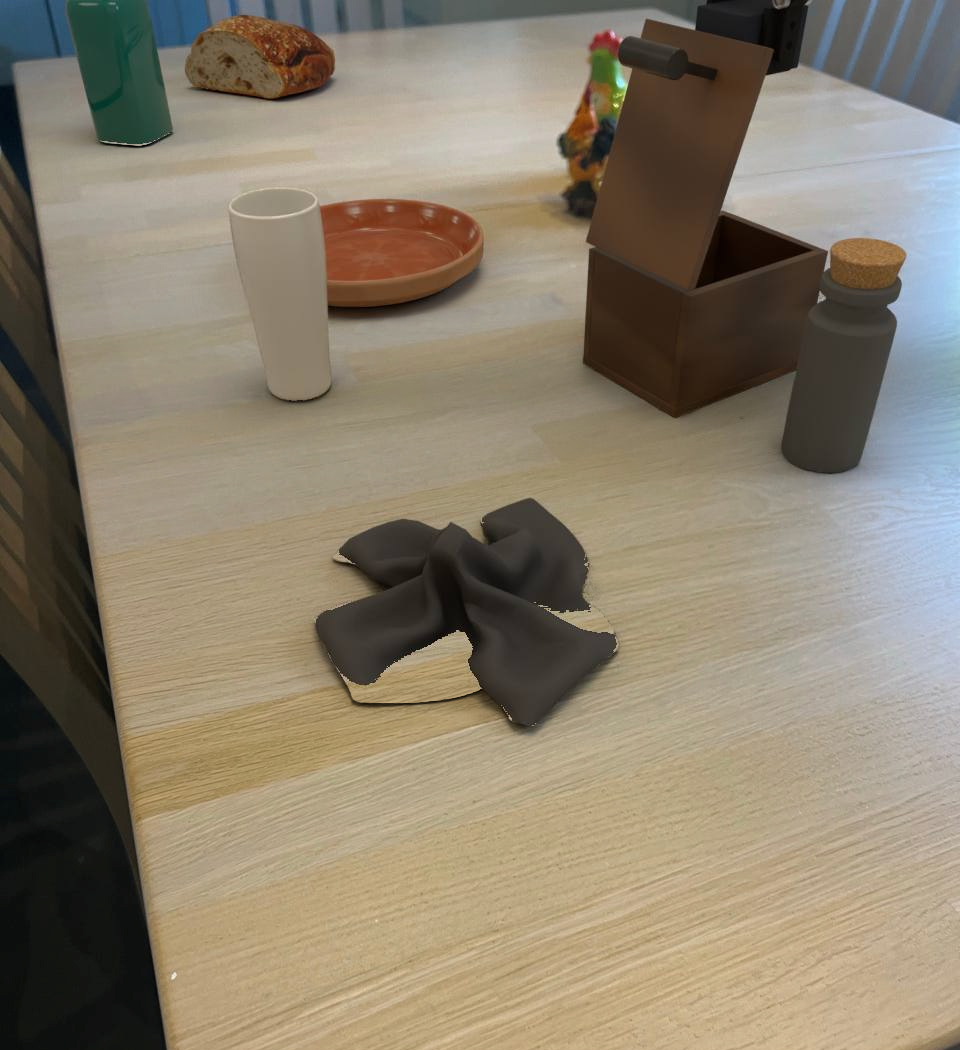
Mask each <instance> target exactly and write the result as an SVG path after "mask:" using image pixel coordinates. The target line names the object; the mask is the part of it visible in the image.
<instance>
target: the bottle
mask: <svg viewBox="0 0 960 1050" xmlns="http://www.w3.org/2000/svg"><path fill="white" fill-rule="evenodd" d="M906 260H907V252H906V251H905V250H904V248H902V247H900V246H899V245H897V244H894V243H893V242H889V241H886V240H882V239H877V238H868V237H854V238H845V239H841V240H839V241H835V242H834V243H833V244H832V245H831V246H830V249H829V268H827V269H825V270H824V272H823V274H822V276H821V281H820V286H819V289H820V293H821V294H822V295H823V297H825V299H823V300H821V301H819V302H817V304H816V305H814V306H813V307H812V308H811V309H810V311H809V313H808V317H807V321H806V326H805V330H804V335H803V340H802V344H801V349H800V354H799V358H798V363H797V368H796V370H795V373H794V378H793V383H792V389H791V393H790V398H789V402H788V406H787V407H788V408H787V413H786V418H785V422H784V428H783V432H782V438H781V445H780V449H781V450H780V451H781V453H782V455H783V457H784V458H785V459H786V460H787V461H789V463H791V464H794V465H795V466H797V467H799V468H801V469H804V470H808V471H811V472H815V473H816V472H817V473H824V474H833V473H843V472H846V471H848V470H851V469H854V468H855V467H856V466H858V464H859V463H860V461H861V460H862V457H863V453H864V450H865V447H866V444H867V440H868V436H869V432H870V430H871V429H870V428H871V425H872V421H873V418H874V415H875V411H876V406H877V403H878V399H879V396H880V392H881V388H882V386H883V385H882V384H883V381H884V378H885V373H886V369H887V367H888V366H887V365H888V361H889V358H890V354H891V350H892V347H893V344H894V339H895V335H896V331H897V326H898V319H897V316H896V315H895V314H894V312H893V311H892V310H891V309H890V308H888V306H889V305H891V304H893V303H895V302H896V301H897V300H898V299H899V297H900V294H901V290H902V287H903V282H902V279H901V277H900V276H899V273H900V271H901V269H902V268H903V265H904V263H905V261H906Z"/></svg>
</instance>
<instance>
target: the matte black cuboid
mask: <svg viewBox="0 0 960 1050" xmlns="http://www.w3.org/2000/svg"><path fill="white" fill-rule="evenodd" d="M767 7H773V3H772V0H730V1H724V2H718V3H712V4H706V3H705V4H700V5H698V6H697V7H696V8H697V9H696V17H695V26H694V30H697V31H701V32H705V33H710V34H714V35H718V36H722V37H726V38H731V39H735V40H739V41H743V42H747V43H752V44H756V45H759V39H760V33H761V26H762V19H763V12H764V9H765V8H767ZM808 11H809V4H808V5H804V7H803V13H802V19H801V24H800V30H799V36H798V42H797V48H796V52H795V58H794V64H793V67H792V68H791V70H792V69H793V70H794V69H798V67H799V62H800V58H801V57H800V56H801V50H802V45H803V39H804V35H805V34H804V33H805V28H806V22H807V16H808Z"/></svg>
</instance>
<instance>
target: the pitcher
mask: <svg viewBox="0 0 960 1050" xmlns="http://www.w3.org/2000/svg"><path fill="white" fill-rule="evenodd" d="M64 11H65V15H66V20H67V23H68V27H69V31H70V35H71V39H72V43H73V47H74V51H75V56H76V59H77V60H76V61H77V65H78V67H79V71H80V75H81V79H82V84H83V88H84V92H85V96H86V99H87V103H88V108H89V112H90V116H91V120H92V124H93V128H94V131H95V136H96V139H97V140H98V141H99V140H101V141H108V142H117V143H127V144H143V143H149V142H153V141H154V140H157V139H158V138H161V137H163V136H164V135H166V134H168V133H170V132H172V133H173V131H174V126H173V120H172V116H171V112H170V107H169V101H168V96H167V92H166V86H165V82H164V76H163V71H162V68H161V66H162V65H161V62H160V56H159V53H158V47H157V42H156V37H155V33H154V27H153V22H152V16H151V12H150V7H149V3H148V1H147V0H66V1H65V6H64ZM172 130H173V131H172Z"/></svg>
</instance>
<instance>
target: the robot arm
mask: <svg viewBox="0 0 960 1050" xmlns="http://www.w3.org/2000/svg"><path fill="white" fill-rule="evenodd" d="M724 1H730V0H706V2H705V5H706V4H712V3H718V2H724ZM813 1H814V0H772V3H773V7H767V8H765V9H764V12H763V19H762V26H761V33H760V39H759V45H760V46H764V47H768V48H771V49H774V51H773V54H772V58H771V61H770V64H769V67H768V70H767V73H766V76H765V77H767V76H772V75H775V74H780V73H786V72H789V71H791V70H792V69H791V68H792V67H793V64H794V58H795V52H796V48H797V42H798V36H799V30H800V24H801V19H802V13H803V7H804V5H808V6H809V5H810V4H811V3H812V2H813Z"/></svg>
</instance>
